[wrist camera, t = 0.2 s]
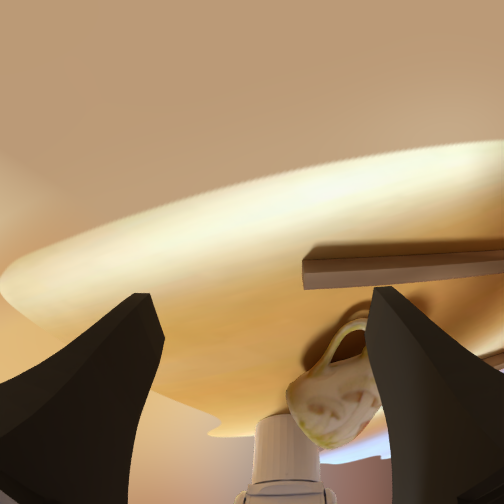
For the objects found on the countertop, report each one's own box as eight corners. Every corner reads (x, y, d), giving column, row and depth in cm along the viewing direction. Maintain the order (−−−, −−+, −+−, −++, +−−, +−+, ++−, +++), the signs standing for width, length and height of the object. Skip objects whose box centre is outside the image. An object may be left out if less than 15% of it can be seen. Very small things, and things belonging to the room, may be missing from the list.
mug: (424, 343, 21) (401, 458, 16) (331, 344, 28) (304, 439, 23) (404, 311, 17) (372, 466, 12) (288, 315, 24) (252, 432, 19)
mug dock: (514, 354, 23) (518, 362, 22) (297, 396, 26) (297, 408, 24) (563, 245, 16) (571, 252, 14) (302, 260, 18) (304, 273, 17)
